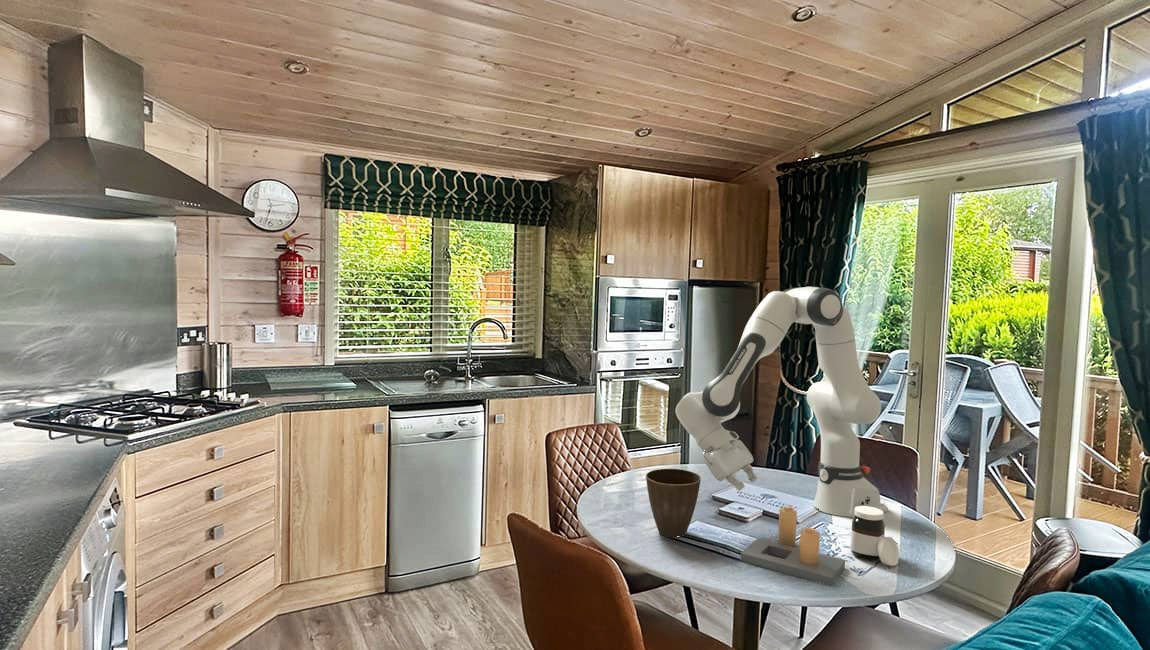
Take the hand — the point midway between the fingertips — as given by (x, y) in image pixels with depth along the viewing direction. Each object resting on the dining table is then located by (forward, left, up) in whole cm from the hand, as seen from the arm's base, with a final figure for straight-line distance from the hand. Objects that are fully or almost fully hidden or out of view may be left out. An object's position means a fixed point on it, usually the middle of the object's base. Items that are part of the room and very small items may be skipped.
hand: (748, 484), depth 178 cm
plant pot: (+20, -7, -14) cm, 25 cm away
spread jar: (-22, +23, -14) cm, 35 cm away
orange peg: (-6, +9, -14) cm, 18 cm away
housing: (+1, +20, -14) cm, 25 cm away
